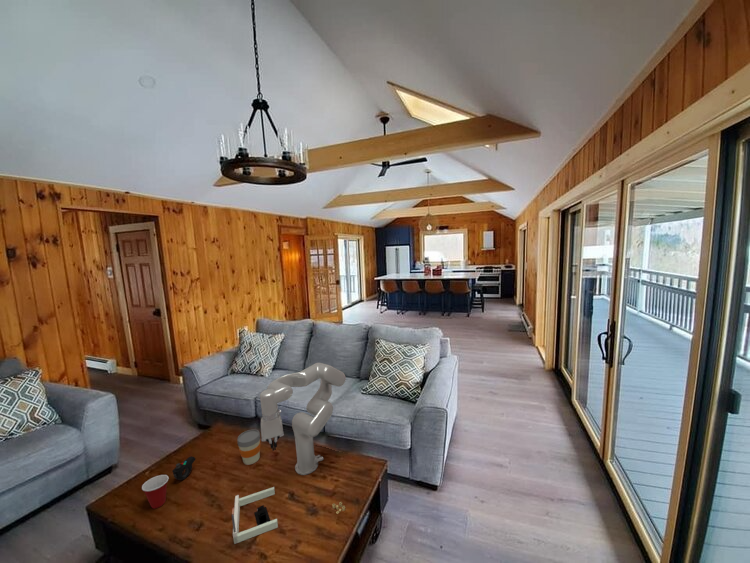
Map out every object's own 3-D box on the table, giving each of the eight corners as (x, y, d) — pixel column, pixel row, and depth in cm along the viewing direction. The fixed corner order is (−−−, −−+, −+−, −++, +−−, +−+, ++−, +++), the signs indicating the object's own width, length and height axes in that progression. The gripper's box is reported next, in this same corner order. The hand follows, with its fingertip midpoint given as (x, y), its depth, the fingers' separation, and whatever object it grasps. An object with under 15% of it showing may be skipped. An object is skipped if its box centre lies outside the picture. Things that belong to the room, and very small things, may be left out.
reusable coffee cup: (254, 449, 187) (252, 426, 185) (267, 456, 179) (264, 433, 177) (235, 461, 177) (232, 438, 175) (247, 470, 169) (244, 445, 167)
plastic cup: (177, 496, 154) (173, 475, 152) (157, 514, 144) (153, 492, 142) (160, 492, 157) (157, 471, 155) (139, 510, 147) (135, 488, 145)
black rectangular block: (251, 512, 143) (250, 503, 142) (267, 504, 147) (266, 496, 146) (256, 532, 132) (255, 523, 132) (273, 523, 136) (272, 514, 136)
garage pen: (274, 492, 153) (272, 468, 151) (277, 527, 134) (274, 501, 132) (236, 505, 147) (233, 481, 145) (234, 544, 127) (230, 516, 125)
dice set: (332, 507, 143) (331, 504, 142) (342, 503, 145) (342, 499, 145) (335, 516, 138) (335, 512, 138) (346, 511, 140) (345, 507, 140)
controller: (172, 484, 162) (170, 467, 161) (192, 467, 174) (189, 451, 173) (179, 485, 161) (176, 468, 160) (198, 468, 173) (195, 452, 171)
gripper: (285, 407, 155) (288, 440, 157) (254, 415, 149) (258, 448, 152) (286, 414, 148) (290, 448, 150) (254, 423, 143) (258, 458, 145)
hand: (274, 448), depth 151 cm, fingers closed
